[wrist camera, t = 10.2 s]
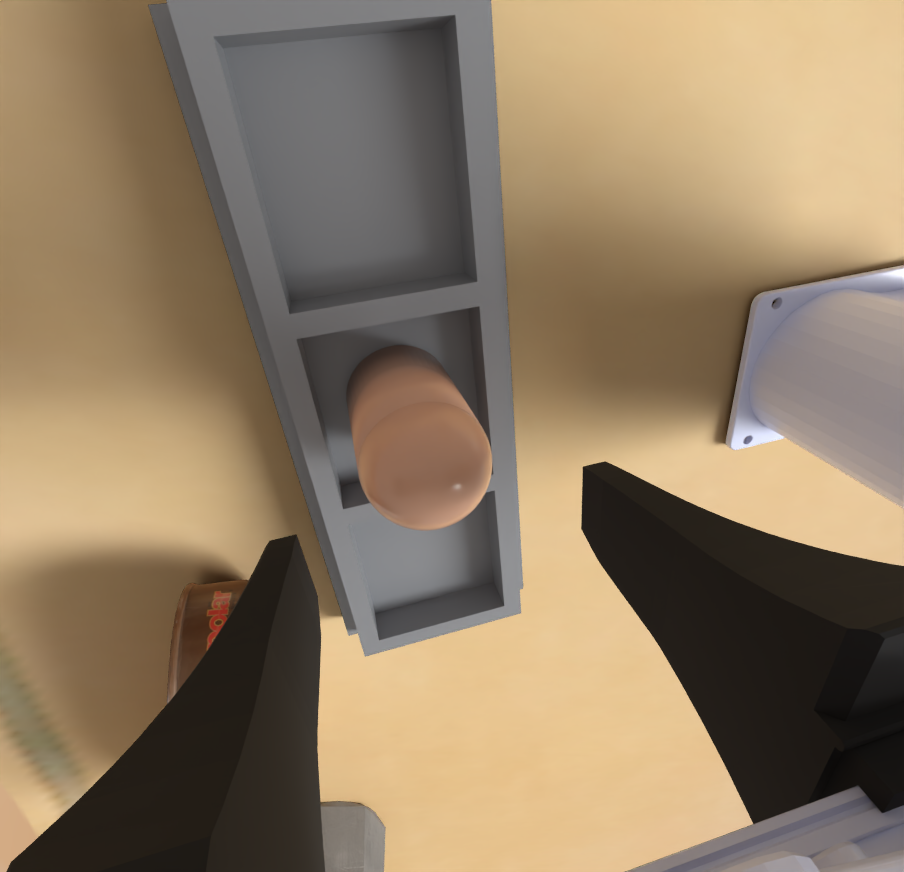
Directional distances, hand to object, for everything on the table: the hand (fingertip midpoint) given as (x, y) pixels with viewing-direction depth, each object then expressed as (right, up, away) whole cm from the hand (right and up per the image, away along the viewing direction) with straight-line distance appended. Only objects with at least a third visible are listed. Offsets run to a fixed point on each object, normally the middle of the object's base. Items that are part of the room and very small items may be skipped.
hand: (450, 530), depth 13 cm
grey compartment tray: (-2, +4, +8) cm, 9 cm away
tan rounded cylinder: (-2, +4, +7) cm, 8 cm away
